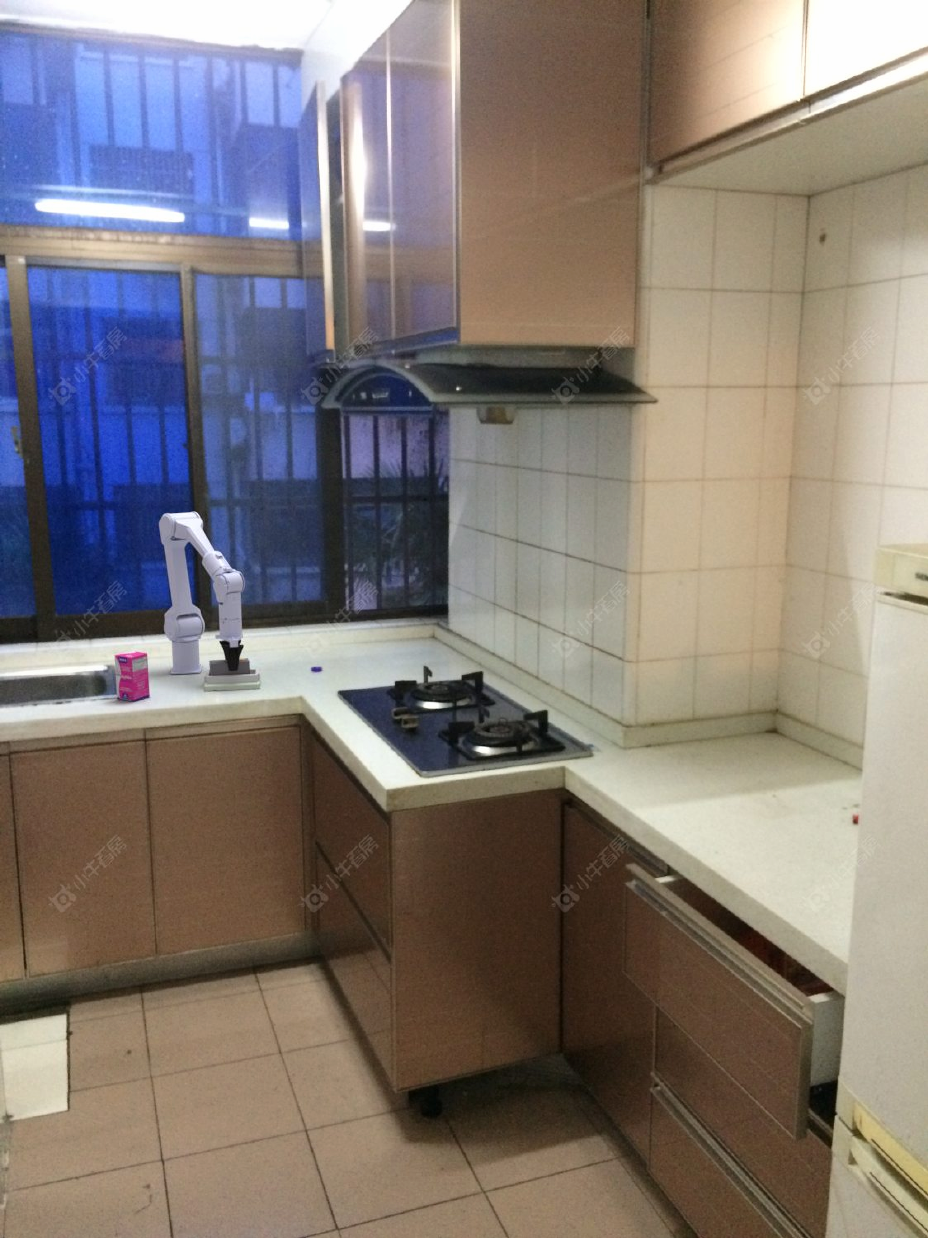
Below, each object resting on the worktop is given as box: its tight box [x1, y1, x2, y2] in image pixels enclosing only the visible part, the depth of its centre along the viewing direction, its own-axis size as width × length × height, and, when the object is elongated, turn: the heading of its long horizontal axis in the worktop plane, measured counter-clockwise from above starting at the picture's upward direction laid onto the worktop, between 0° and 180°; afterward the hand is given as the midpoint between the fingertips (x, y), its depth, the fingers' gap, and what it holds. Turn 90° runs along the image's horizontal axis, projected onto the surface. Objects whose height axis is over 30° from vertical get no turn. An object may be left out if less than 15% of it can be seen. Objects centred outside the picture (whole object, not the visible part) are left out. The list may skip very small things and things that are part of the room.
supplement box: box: [114, 650, 151, 703], centre depth 256 cm, size 6×6×12 cm
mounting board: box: [203, 667, 261, 692], centre depth 272 cm, size 14×14×3 cm
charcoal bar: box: [208, 657, 251, 676], centre depth 272 cm, size 4×10×5 cm, turn 108°
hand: (232, 668), depth 272 cm, fingers closed on charcoal bar, 4 cm apart
